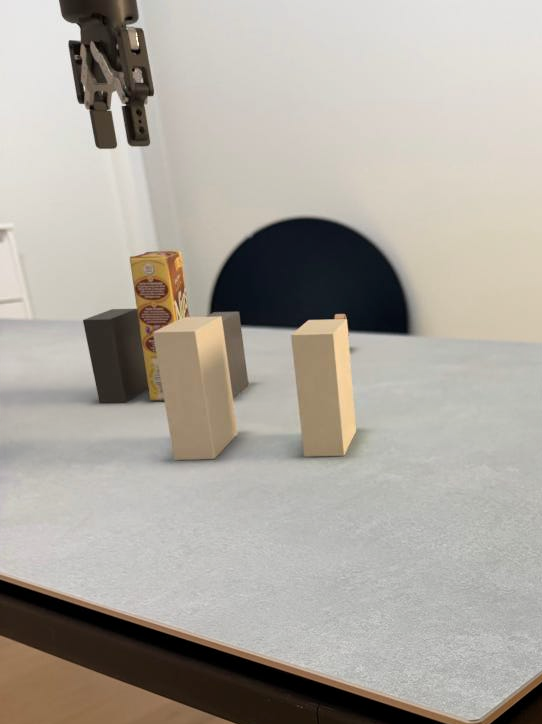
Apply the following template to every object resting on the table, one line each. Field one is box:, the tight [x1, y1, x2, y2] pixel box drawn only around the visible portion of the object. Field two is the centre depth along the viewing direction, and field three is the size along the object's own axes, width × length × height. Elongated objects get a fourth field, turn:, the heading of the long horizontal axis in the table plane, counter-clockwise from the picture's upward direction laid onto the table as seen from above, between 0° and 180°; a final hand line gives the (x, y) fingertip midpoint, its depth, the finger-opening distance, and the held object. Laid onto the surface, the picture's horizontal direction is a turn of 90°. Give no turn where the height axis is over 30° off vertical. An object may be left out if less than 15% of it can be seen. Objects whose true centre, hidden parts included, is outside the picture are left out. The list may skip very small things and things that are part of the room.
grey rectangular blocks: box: [82, 308, 249, 404], centre depth 109 cm, size 15×9×9 cm, turn 90°
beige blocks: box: [153, 316, 357, 461], centre depth 86 cm, size 15×9×11 cm, turn 90°
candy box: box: [129, 250, 190, 401], centre depth 108 cm, size 9×4×15 cm, turn 6°
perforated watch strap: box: [333, 313, 350, 337], centre depth 134 cm, size 3×5×5 cm, turn 0°
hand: (122, 147), depth 103 cm, fingers open, 8 cm apart
